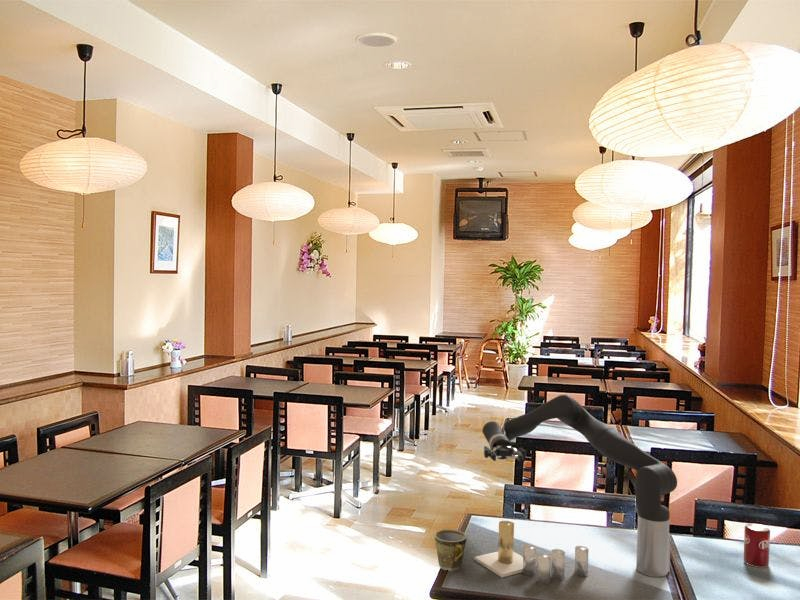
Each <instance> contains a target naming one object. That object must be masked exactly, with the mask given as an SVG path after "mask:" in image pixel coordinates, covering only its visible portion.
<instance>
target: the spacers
mask: <svg viewBox="0 0 800 600" xmlns="http://www.w3.org/2000/svg"><path fill="white" fill-rule="evenodd" d="M550 554H551V555H550ZM550 554H549V553H547V552H546V553H545V552H539V553H537V546H536V545H533V544H524V545H523V546H522V557H523V572H522V573H523V575H525V576H529V577H532V576H535V578H536V580H535V582H536V583H537V584H538V585H540V586H548V585H550V583H551V579H552V580H554V581H558V582H561V581H564V580H565V561H566V557H565V556H566V555H565V554H566V552H565V551H564V550H563V549H559V548H558V549H557V548H555V549H551V551H550ZM536 565H537V568H536ZM573 574H574V575H575V576H576V577H580V578H585V577H588V576H589V547H587V546H584V545H576V546H575V547H574V572H573Z"/></svg>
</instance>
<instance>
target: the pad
mask: <svg viewBox="0 0 800 600" xmlns="http://www.w3.org/2000/svg"><path fill="white" fill-rule="evenodd" d="M475 560H476V561H475ZM474 561H475V562H477V563H478V564H480V565H481V566H484V567H485V568H486V569H488V570H490V571H491V572H493V573H494V574H495V575H497V576H499V577H500V578H505V577H509V576H513V575H516V574H521V573H523V555H520V553H517V552H515V551H514V552H513V563H511V564H503V563H500V562H499V561H498V550H497V551H494V552H489V553H485V554H481V555H477V556H474ZM536 569H537V564H536Z"/></svg>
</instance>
